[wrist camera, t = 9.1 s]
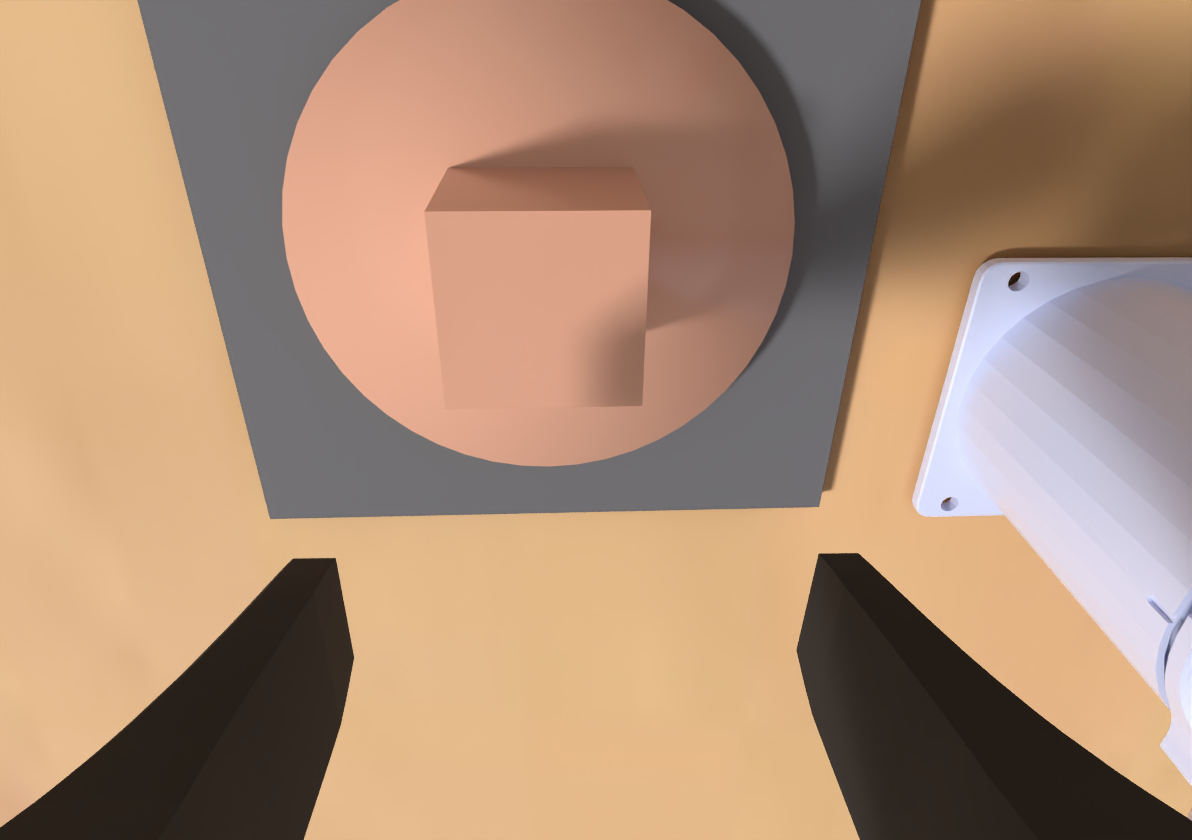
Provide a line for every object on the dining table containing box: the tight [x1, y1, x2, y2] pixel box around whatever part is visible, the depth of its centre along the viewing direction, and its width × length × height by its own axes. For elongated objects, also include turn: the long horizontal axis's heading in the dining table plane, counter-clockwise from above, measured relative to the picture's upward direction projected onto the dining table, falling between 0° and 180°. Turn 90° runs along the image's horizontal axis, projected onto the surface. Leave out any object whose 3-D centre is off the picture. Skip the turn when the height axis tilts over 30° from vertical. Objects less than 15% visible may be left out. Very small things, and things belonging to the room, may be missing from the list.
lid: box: [282, 0, 795, 466], centre depth 16 cm, size 12×12×4 cm
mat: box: [138, 0, 921, 519], centre depth 19 cm, size 16×15×1 cm
